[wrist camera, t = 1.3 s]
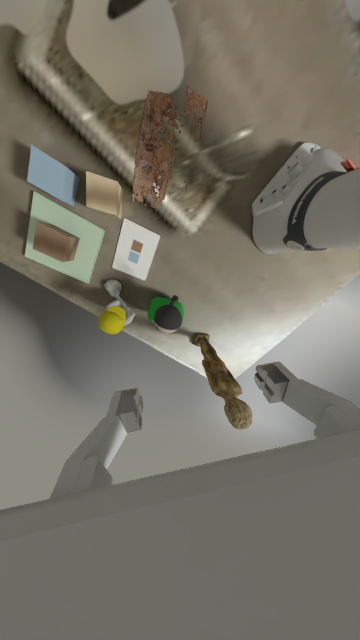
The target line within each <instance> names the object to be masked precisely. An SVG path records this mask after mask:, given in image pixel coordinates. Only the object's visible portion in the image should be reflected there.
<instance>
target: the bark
mask: <svg viewBox="0 0 360 640" xmlns="http://www.w3.org/2000/svg"><path fill="white" fill-rule="evenodd" d="M186 94H187V101H186V105H185V108H184V112H185V113H187V116H185V117H186V118H188V117H189V116H190V114H189V112H190V111H191V110H192V109H193V106H194V105H196V107H197V109H199V113H200V114H199V117H200V119H201V121H200V126H199V128H198V130H197V132H196V135H195V138H194V141H195V140H199V137H200V133H201V126H202V118H203V116H204V113H205V111H206V108H205V109H204V106H205V105H206V107H207V100H208V99H205V97H202V96H201V95H200V94H199V95H197V94H196V92H192V91H191V89H190V88H189V87H188V89H187V93H186ZM198 96H199V98H200V99H199V101H198V99H197V97H198ZM188 104H190V105H188ZM168 109H173V112H172V111H171V110H170V113H169V112H168ZM179 115H180V116H181V115H183V113H182V112H180V113H179ZM194 115H195V114H194ZM167 116H168V117H169V118H168V119H166V117H167ZM175 119H176V120H177V114H176V112H175V109H174V104H173V100H172V98H171V97H169V96H168V94H165V93H162V92H153V91H149V93H148V95H147V99H146V104H145V111H144V119H143V122H142V128H141V132H140V140H139V144H138V145H139V146H138V150H137V156H136V165H137V168H135V176H136V177H135V179H134V183H133V192H134V193H135V194H132V196H133V202H134V197H135V198H136V199H137V201H141V202H142V203H143V195H144V197H145V196H146V197H147V196H148V193H146V192H148V191H150V192H149V194H150V195H151V194H152V196H151V197H152V198H154V201H153V202H152V203H151V206H152V207H154V208H155V207H156V205H155V201H156V199H157V197H158V196H155V195H156V194H158V192H155V190H154V189H155V187H154V186H152V185H153V182H154V183H156V189H157V185H159V186H161V187H160V188H159V189H158V191H159V197H158V201H157V204H159V206H162V205H161V203H162V201H163V200H164V198H165V194H166V188H167V185H168V182H169V178H171V172H172V163H173V162H174V163H175V161H174V154H175V149H176V148H175V149H174V148H172V147H171V148H170V146H167V145H166V144H170V143H171V140H172V137H174V139H175V136H174V135H173V132H174V128H177V129H178V127H179V125H178V124H177V123H176V121H175ZM178 120H180V119H179V118H178ZM195 122H199V118H198V116H196V115H195ZM165 124H169V125H171V126H172V127H173V131H172V130H170V131H169V132H170V139H167V142H165V143H166V144H164V142H163V141H161V140H160V139H159V138H158V137H157V136H156V135H154V134H153V131H155V130H156V129H157V128H156V126H157V127H158V131H159V132H162V134H164V130H165ZM182 126H184V125H183V124H182V125H181V127H182ZM161 129H163V130H162V131H161ZM166 132H167V131H166ZM179 133H181V131H179ZM157 141H159V142H157ZM158 144H159V145H158ZM154 167H155V168H156V167H157V169H155V171H154ZM184 183H185V181H184ZM188 183H189V181H187V184H186V186H187V187H188ZM152 187H153V188H152ZM187 187H186V191H187ZM143 188H144V190H143ZM145 191H146V192H145ZM142 192H143V194H142ZM136 194H138V196H136ZM159 202H160V203H159ZM162 204H163V203H162ZM154 205H155V206H154ZM146 206H147V205H146Z"/></svg>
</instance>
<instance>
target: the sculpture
mask: <svg viewBox="0 0 360 640" xmlns="http://www.w3.org/2000/svg"><path fill="white" fill-rule="evenodd" d="M208 341H209V335H206V334H201V333H196V334H195V336H194V339H193V342H192V344H194V345H195V346H200V347H201V352H202V354H203V356H204V360H202V364H203V367H204V369H205V372H206V375H207V378H208V381H209V384H210V386H211V389H212V391H213V392H214V393H215V394H216V395H218V396H221V397H222V398H223V399H224V400H225V406H224V410H225V413H226V416H227V418H228V420H229V422H230V423H231V424H232V426H233V427H234V428H236V429H245V428H247V427H249V426H250V425H251V423H252V411H251V409H250V407H249V406H248V405H247V404H246V403H245V402H243V401H242V400H239V399H238V398H237V397H238V396H239V395H240V394H242V389H241V387H240V385H239V384H238V382H237V381H236V380H235V379H234V377H233V376H232V374H231V373H230V371H229V370H228V369H227V368H226V366H225V364H224V362H223V361H222V360H221V359H220V358H219V357H218V356H217V353H216V351H215V349H214V348H213V347H212V346H211V344H210V343H209V342H208Z"/></svg>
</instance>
